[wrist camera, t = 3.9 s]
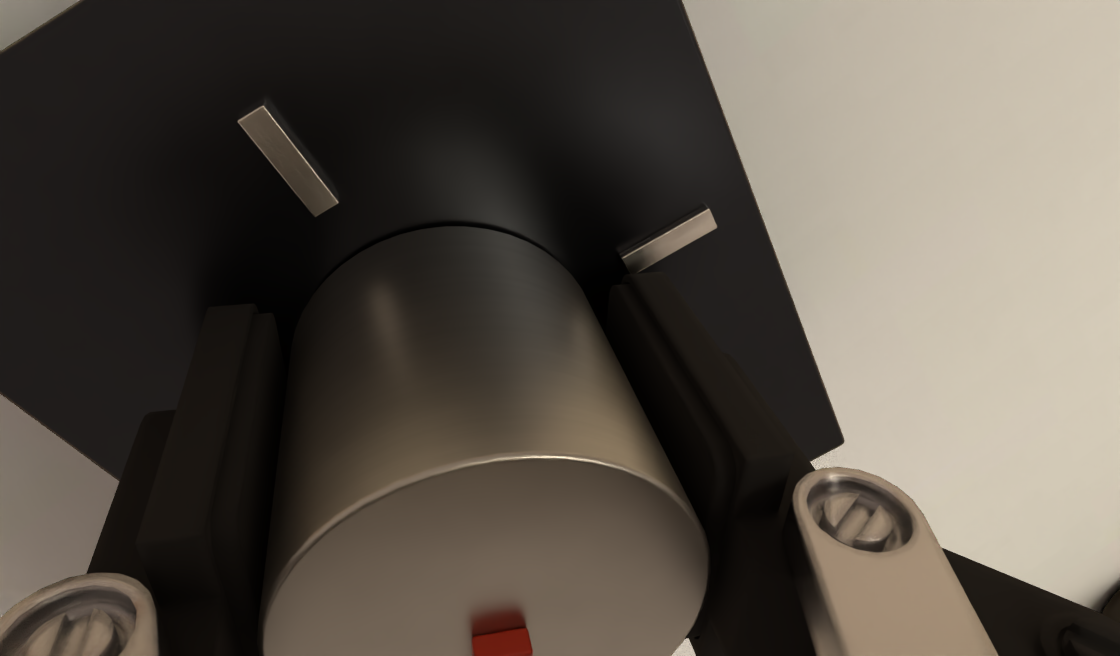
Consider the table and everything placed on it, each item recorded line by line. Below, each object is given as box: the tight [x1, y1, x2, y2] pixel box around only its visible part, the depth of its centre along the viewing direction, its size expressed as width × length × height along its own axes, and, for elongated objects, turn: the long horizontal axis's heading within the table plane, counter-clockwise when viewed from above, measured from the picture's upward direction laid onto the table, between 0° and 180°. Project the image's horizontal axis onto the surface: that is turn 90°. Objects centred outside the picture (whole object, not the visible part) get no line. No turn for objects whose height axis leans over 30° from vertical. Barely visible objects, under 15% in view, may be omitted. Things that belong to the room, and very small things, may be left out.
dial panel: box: [0, 0, 844, 481], centre depth 12 cm, size 12×10×3 cm
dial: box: [257, 226, 711, 656], centre depth 9 cm, size 4×4×5 cm
